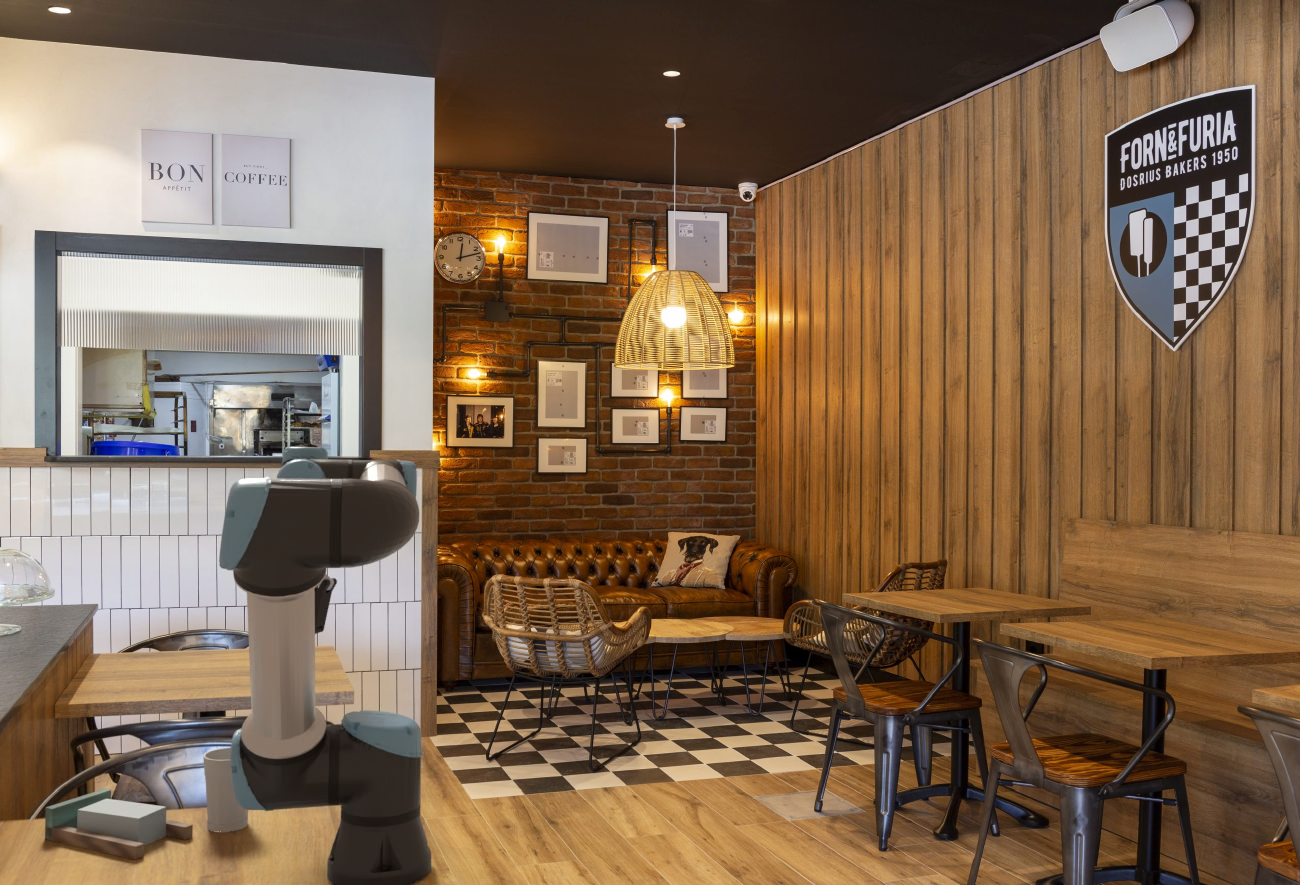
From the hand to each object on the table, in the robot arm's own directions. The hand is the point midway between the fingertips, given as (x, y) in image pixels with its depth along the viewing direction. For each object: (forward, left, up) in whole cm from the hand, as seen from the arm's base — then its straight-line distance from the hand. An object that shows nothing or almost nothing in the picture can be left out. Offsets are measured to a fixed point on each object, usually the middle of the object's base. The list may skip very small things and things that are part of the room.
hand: (301, 673), depth 187 cm
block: (+18, +21, -25) cm, 37 cm away
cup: (+7, +9, -25) cm, 27 cm away
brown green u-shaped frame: (+18, +21, -24) cm, 37 cm away
